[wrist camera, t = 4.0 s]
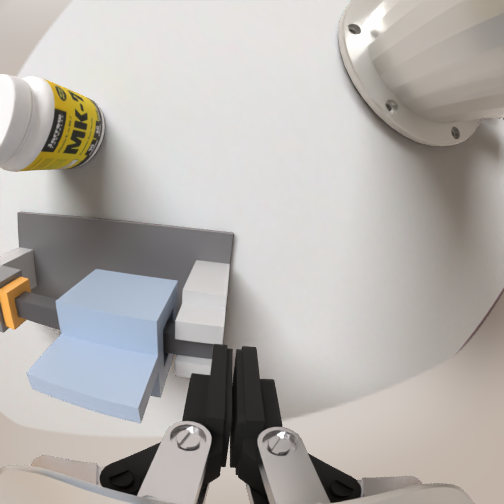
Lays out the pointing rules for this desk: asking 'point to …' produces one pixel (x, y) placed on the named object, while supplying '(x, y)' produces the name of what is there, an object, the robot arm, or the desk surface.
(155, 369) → the light blue step block
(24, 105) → the supplement bottle
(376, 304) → the desk surface
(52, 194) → the desk surface
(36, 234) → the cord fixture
